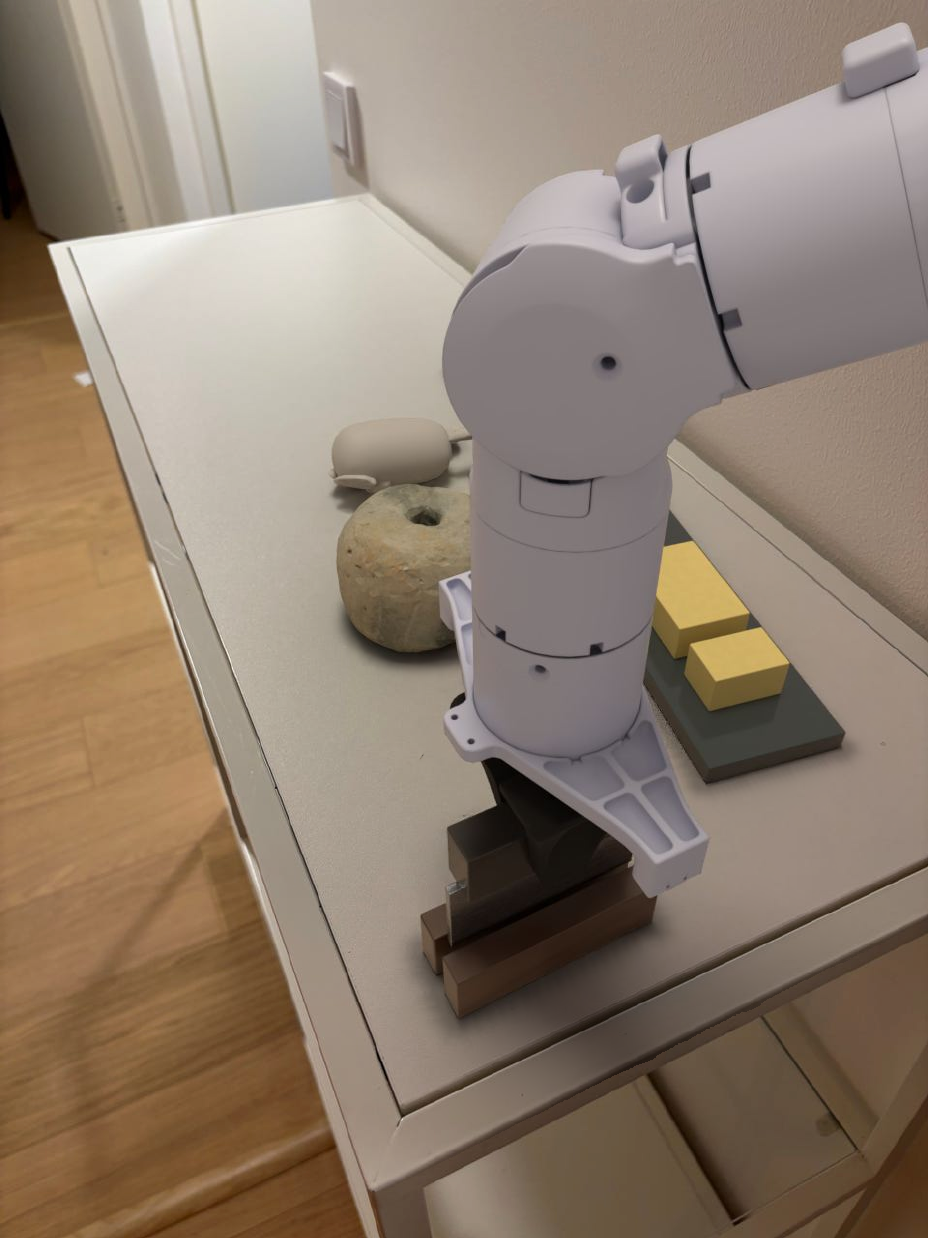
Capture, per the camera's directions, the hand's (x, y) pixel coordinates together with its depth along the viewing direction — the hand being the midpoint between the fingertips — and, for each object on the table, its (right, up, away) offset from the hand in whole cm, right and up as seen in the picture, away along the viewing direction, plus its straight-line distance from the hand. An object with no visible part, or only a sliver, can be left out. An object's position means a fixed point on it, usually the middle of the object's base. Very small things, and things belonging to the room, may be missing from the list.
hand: (545, 847), depth 40 cm
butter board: (+6, +16, +28) cm, 33 cm away
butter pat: (+11, +6, +14) cm, 19 cm away
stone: (-6, +10, +21) cm, 24 cm away
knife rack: (0, -5, +5) cm, 7 cm away
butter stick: (+10, +10, +19) cm, 23 cm away
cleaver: (0, -3, +3) cm, 4 cm away
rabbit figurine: (-7, +20, +32) cm, 39 cm away
